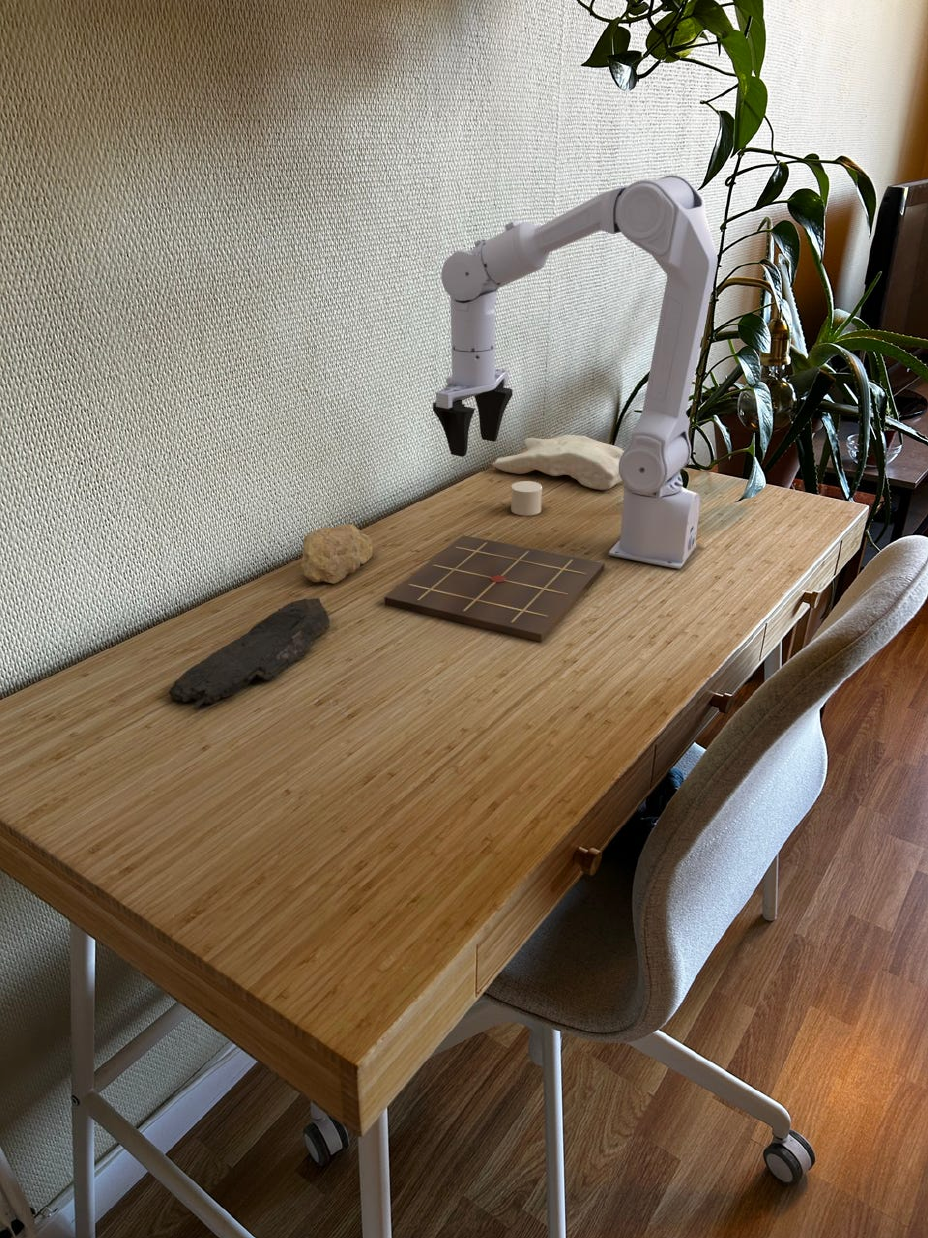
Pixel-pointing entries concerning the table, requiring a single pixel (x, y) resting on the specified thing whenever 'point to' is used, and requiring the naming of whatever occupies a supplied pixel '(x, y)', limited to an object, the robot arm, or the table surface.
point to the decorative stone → (568, 460)
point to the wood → (254, 654)
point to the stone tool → (334, 553)
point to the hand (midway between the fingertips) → (474, 447)
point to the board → (497, 587)
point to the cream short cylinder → (526, 498)
